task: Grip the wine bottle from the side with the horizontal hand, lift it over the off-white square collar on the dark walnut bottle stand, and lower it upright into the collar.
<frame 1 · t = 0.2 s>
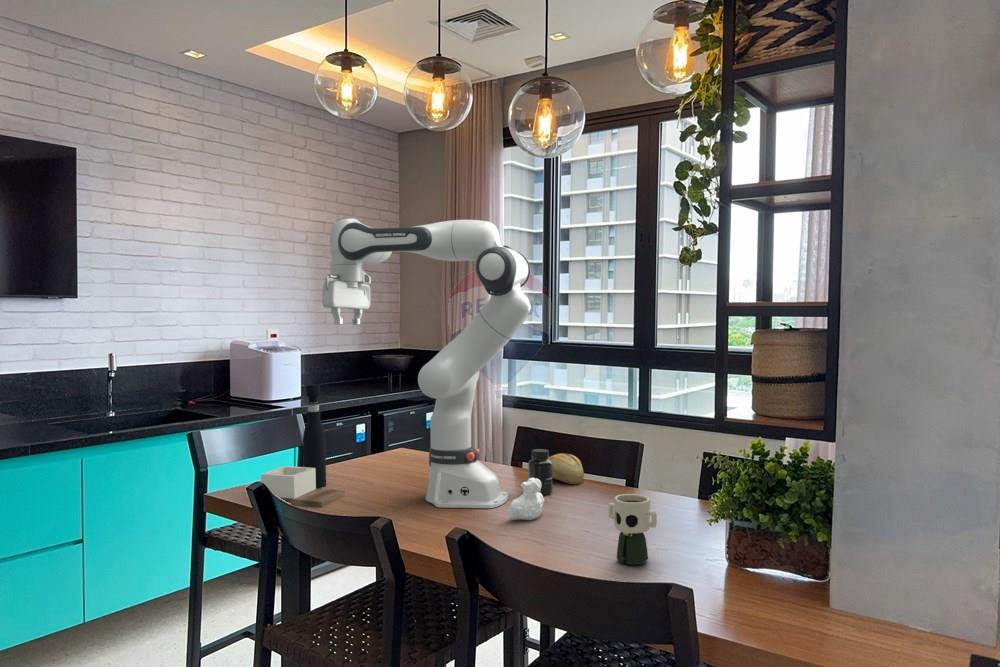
hand: (347, 324, 199), 48 cm above the table, tool pointing down, fingers open, 8 cm apart
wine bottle: (315, 487, 206), on the table
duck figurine: (528, 519, 172), on the table
bottle stand: (301, 498, 192), on the table
character mug: (632, 562, 142), on the table
supplement bottle: (540, 493, 196), on the table
bread roll: (563, 481, 210), on the table
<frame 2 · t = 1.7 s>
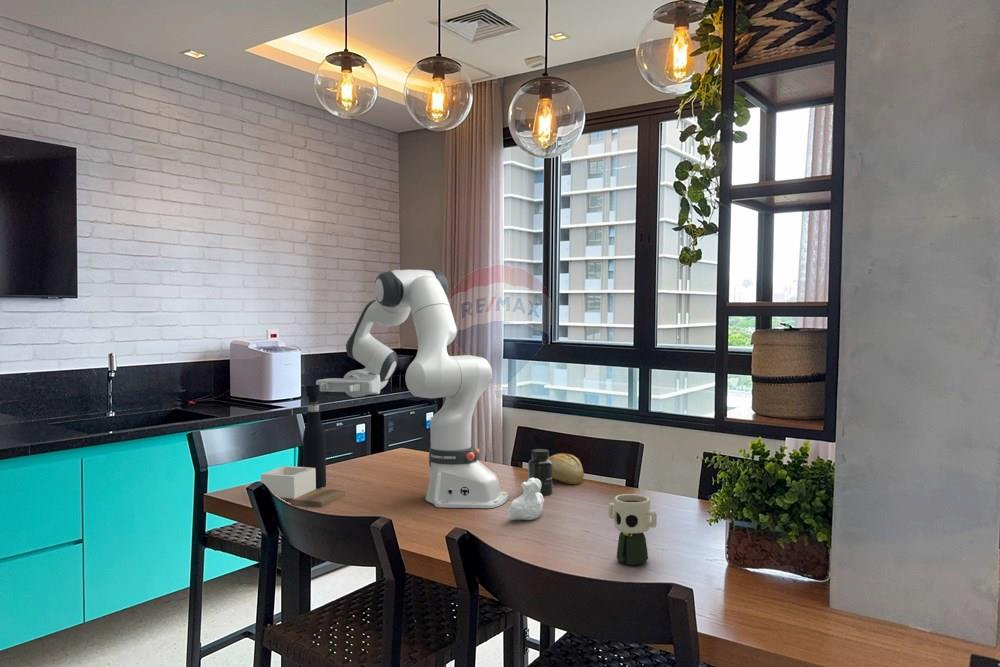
hand: (334, 388, 217), 28 cm above the table, tool horizontal, fingers open, 8 cm apart
nothing on the table moved.
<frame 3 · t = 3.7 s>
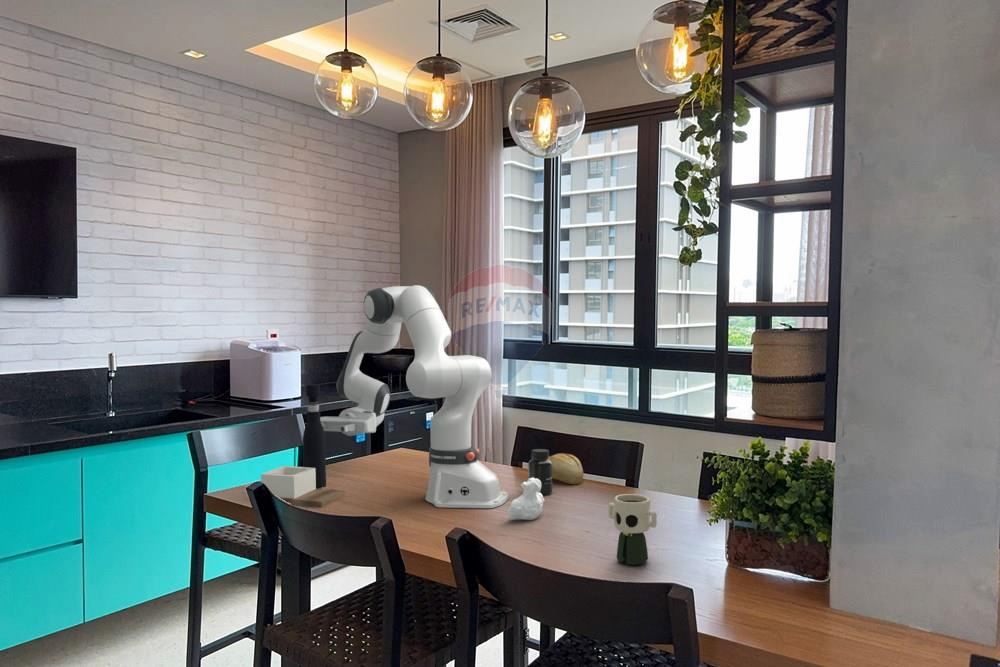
hand: (329, 428, 213), 16 cm above the table, tool horizontal, fingers open, 8 cm apart
nothing on the table moved.
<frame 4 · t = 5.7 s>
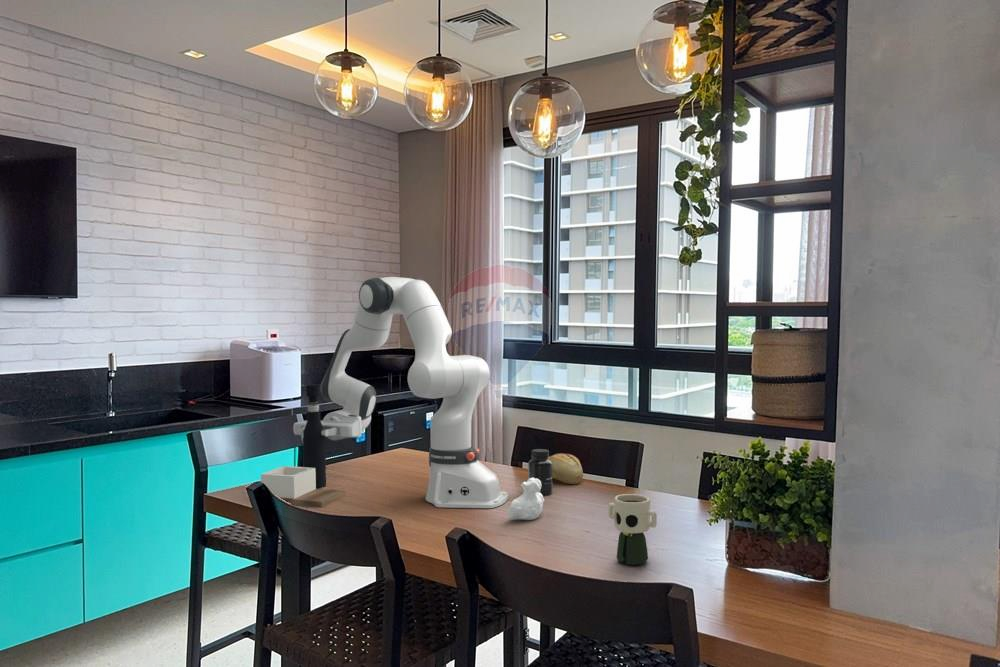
hand: (312, 433, 205), 16 cm above the table, tool horizontal, fingers closed on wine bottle, 6 cm apart
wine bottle: (315, 487, 206), on the table, touching gripper
everything else where it was.
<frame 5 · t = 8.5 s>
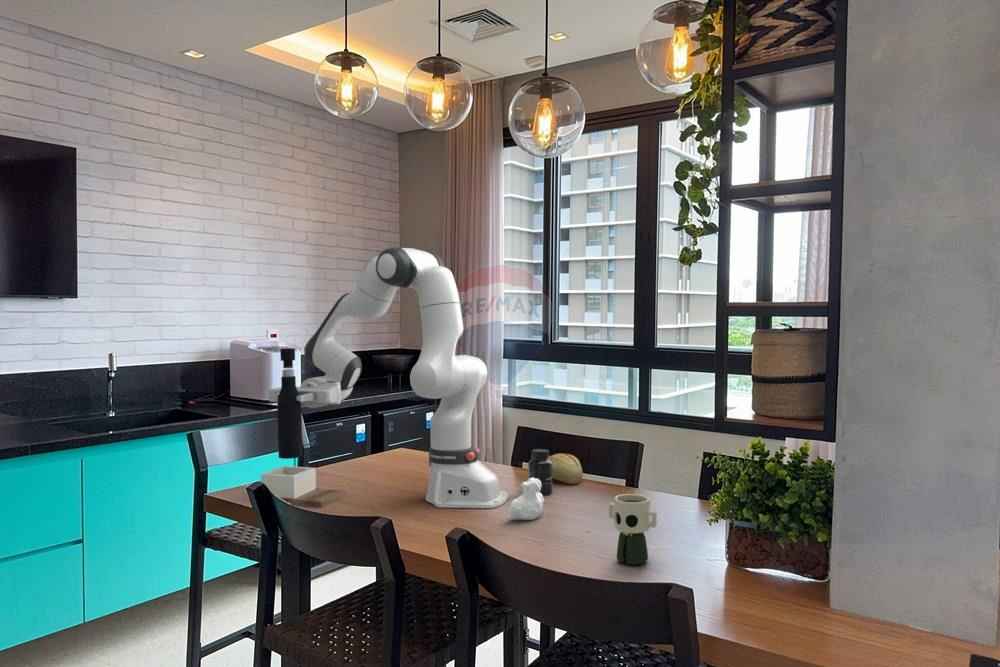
hand: (287, 398, 193), 28 cm above the table, tool horizontal, fingers closed on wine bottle, 6 cm apart
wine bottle: (290, 457, 194), point 11 cm above the table, touching gripper
everything else where it was.
when the fingers open (19 cm above the table, at t = 11.3 s): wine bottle stays where it is, resting on bottle stand.
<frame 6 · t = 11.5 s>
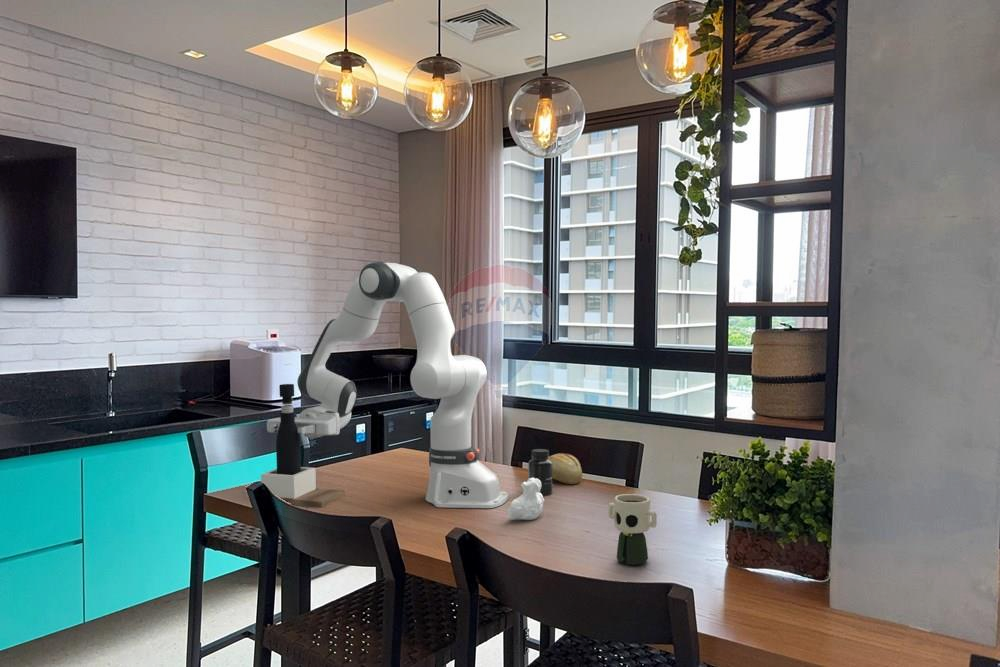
hand: (285, 430, 192), 19 cm above the table, tool horizontal, fingers open, 8 cm apart
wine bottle: (289, 493, 194), point 1 cm above the table, touching bottle stand
everything else where it was.
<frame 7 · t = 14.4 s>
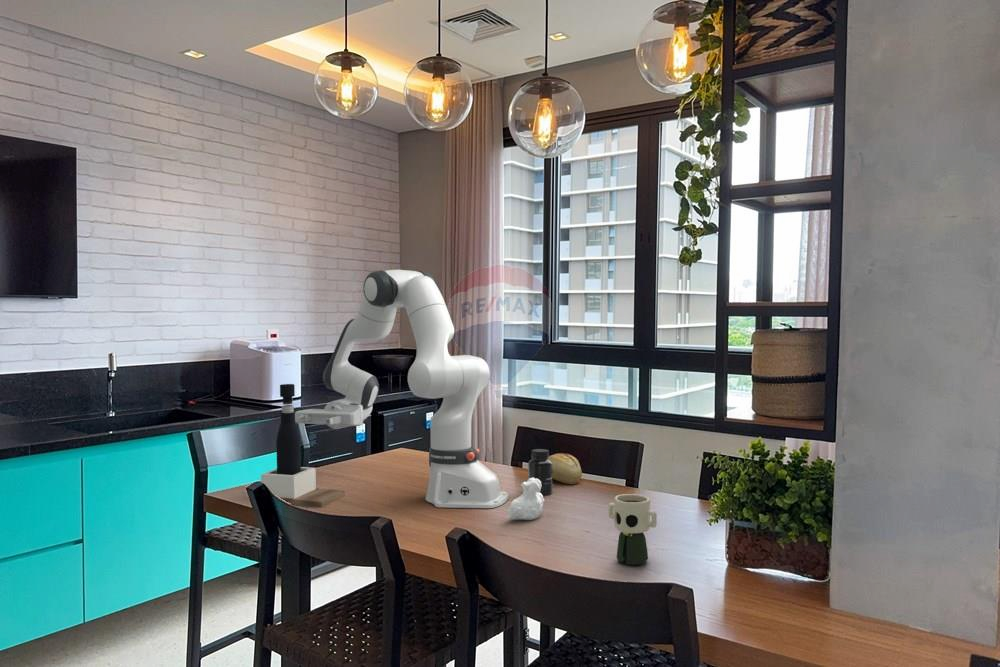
hand: (314, 420, 205), 20 cm above the table, tool horizontal, fingers open, 8 cm apart
nothing on the table moved.
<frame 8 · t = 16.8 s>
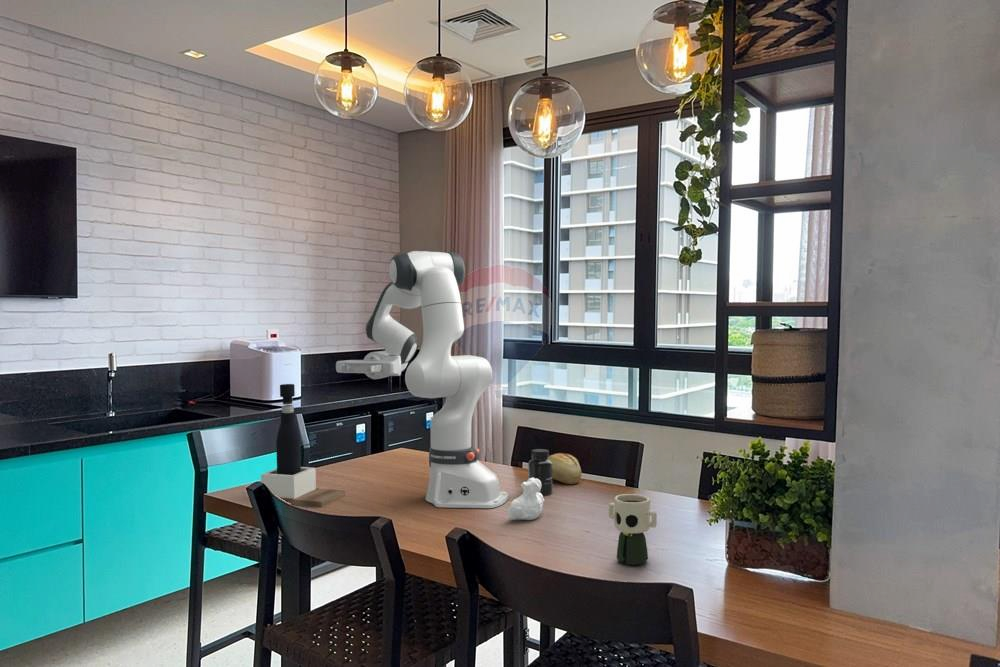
hand: (355, 368, 213), 34 cm above the table, tool horizontal, fingers open, 8 cm apart
nothing on the table moved.
at the end: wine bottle 0.1 cm from the target spot on the bottle stand, point 1.3 cm above the bottle stand's base; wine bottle tilted 0°; the gripper is holding nothing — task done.
